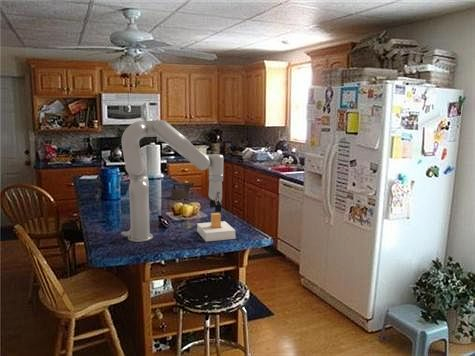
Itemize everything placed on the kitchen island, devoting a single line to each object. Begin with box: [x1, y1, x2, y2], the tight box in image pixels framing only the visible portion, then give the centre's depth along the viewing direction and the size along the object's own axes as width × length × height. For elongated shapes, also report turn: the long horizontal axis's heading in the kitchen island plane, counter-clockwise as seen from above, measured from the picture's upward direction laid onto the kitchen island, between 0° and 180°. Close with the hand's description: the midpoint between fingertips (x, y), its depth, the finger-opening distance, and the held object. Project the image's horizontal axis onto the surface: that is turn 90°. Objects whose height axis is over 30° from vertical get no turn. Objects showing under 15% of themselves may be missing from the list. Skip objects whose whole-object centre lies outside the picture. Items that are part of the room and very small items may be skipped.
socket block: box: [196, 220, 236, 243], centre depth 215 cm, size 16×18×4 cm
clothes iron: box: [171, 181, 195, 201], centre depth 297 cm, size 8×16×13 cm, turn 72°
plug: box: [210, 212, 222, 229], centre depth 214 cm, size 4×4×10 cm
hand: (215, 209), depth 213 cm, fingers open, 9 cm apart
